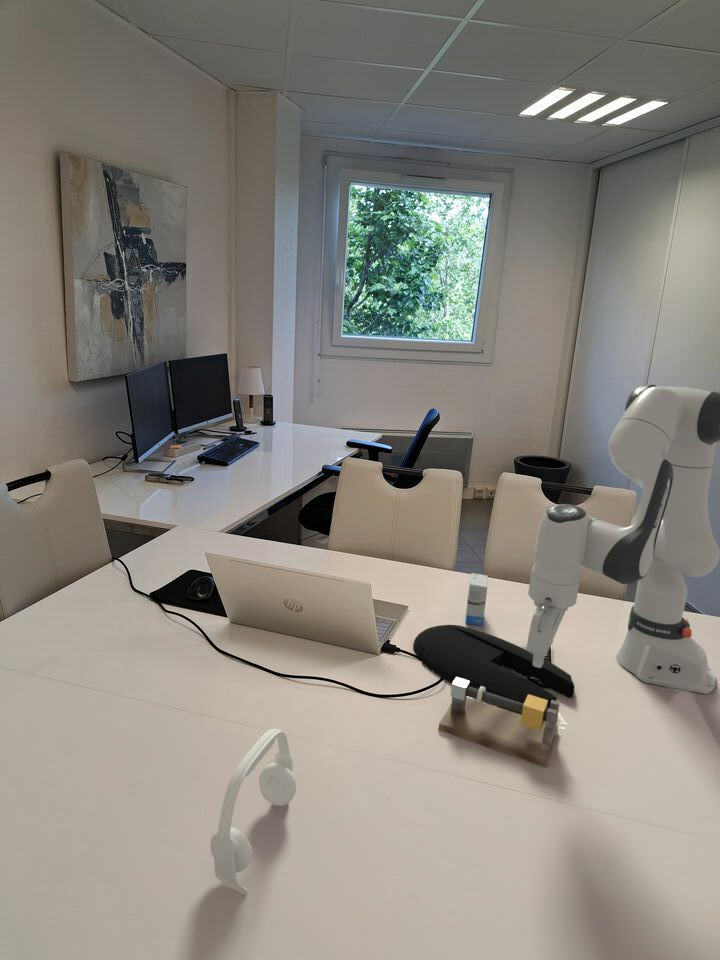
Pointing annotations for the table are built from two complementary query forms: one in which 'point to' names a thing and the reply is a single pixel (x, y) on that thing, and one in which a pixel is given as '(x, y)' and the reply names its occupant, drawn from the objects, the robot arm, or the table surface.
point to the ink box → (476, 599)
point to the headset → (276, 789)
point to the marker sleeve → (533, 712)
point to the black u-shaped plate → (488, 663)
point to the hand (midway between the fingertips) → (542, 654)
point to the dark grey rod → (497, 700)
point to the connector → (459, 695)
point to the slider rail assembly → (503, 730)
